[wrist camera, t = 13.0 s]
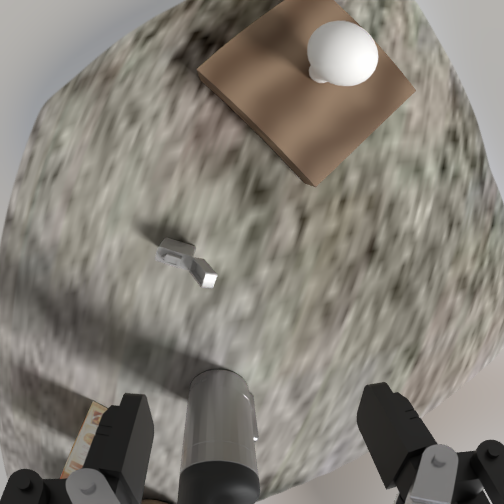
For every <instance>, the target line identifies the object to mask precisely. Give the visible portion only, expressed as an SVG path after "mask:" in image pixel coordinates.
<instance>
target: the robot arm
mask: <svg viewBox="0 0 504 504" xmlns="http://www.w3.org/2000/svg"><path fill="white" fill-rule="evenodd" d="M357 424H358V428H359V430H360V432H361V434H362V436H363V439H364V441H365V443H366V445H367V447H368V450H369V452H370V454H371V456H372V459H373V461H374V463H375V465H376V467H377V470H378V472H379V474H380V476H381V479H382V481H383V483H384V485H385V488H386V489H390V488H393V487H396V486H397V488H398V490H399V492H398V494H397V496H396V498H395V501H394V504H490V502H489V501H488V499H487V497H486V495H485V493H484V492H483V489H485V491H486V493H487V494H488V496H489V498H490V500H491V502H492V503H493V504H504V445H503V444H501V443H500V442H498V441H495V440H486V441H484V442H482V443H481V444H480V445H479V446H478V448H477V449H476V451H469V452H459V453H456V452H455V451H454V450H453V449H452V448H450V447H449V446H446V445H442V444H437V442H436V441H435V439H434V438H433V437H432V435H431V433H430V432H429V430H428V429H427V427H426V426H425V424H424V423H423V421H422V420H421V418H419V415H418V414H417V412H416V411H414V408H413V406H412V405H411V403H410V402H409V400H408V399H407V398H405V397H404V396H402V395H401V394H400V393H398V392H397V393H393V392H392V390H391V389H390V387H389V386H388V384H387V383H385V382H382V383H376V384H370V385H366V386H365V388H364V391H363V394H362V398H361V401H360V405H359V408H358V412H357ZM153 438H154V424H153V420H152V416H151V412H150V409H149V405H148V401H147V397H146V395H144V394H131V393H125V394H124V395H123V398H122V401H121V403H120V406H114V405H111V406H110V407H109V408H108V409H107V410H106V411H105V412H104V413H103V415H102V417H101V420H100V422H99V427H97V430H96V432H95V435H94V438H93V440H92V443H91V446H90V448H89V451H88V454H87V456H86V459H85V462H84V465H83V467H82V468H81V469H78V470H76V471H74V472H72V473H71V474H70V475H69V476H68V478H65V479H42V478H41V477H40V476H39V474H38V473H36V472H35V471H33V470H29V469H21V470H18V471H16V472H14V473H13V474H12V475H11V476H10V478H9V480H8V482H7V485H6V487H5V490H4V492H3V495H2V497H1V500H0V504H141V502H142V496H143V490H144V485H145V479H146V474H147V468H148V463H149V458H150V453H151V448H152V443H153ZM257 440H258V429H257V421H256V413H255V405H254V397H253V395H252V394H251V393H250V392H249V389H248V385H247V383H246V381H245V380H244V379H243V378H242V377H240V376H239V375H238V374H236V373H233V372H231V371H227V370H220V369H219V370H210V371H206V372H203V373H201V374H199V375H198V376H196V377H195V378H194V380H193V381H192V383H191V385H190V390H189V398H188V405H187V413H186V422H185V431H184V440H183V449H182V459H181V469H180V479H179V491H178V502H177V504H254V503H255V502H256V501H257V500H258V498H259V495H260V484H259V478H258V469H257V461H256V453H255V444H254V442H256V441H257Z"/></svg>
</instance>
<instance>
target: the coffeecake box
mask: <svg viewBox="0 0 504 504" xmlns="http://www.w3.org/2000/svg"><path fill="white" fill-rule="evenodd" d="M106 410H107V408H106V407H104V406H102V405H100V404H98V403H96V402H94V401H93V402H92V404H91V406H90V409H89V411H88V413H87V415H86V418H85V420H84V422H83V424H82V426H81V429H80V431H79V433H78V435H77V438H76V440H75V442H74V445H73V447H72V449H71V452H70V454H69V457H68V459H67V461H66V464H65V466H64V469H63V471H62V474H61V476H60V479H65V478H68V476H69V475H70V474H71V473H72V472H74V471H76V470H78V469H81V468H82V467H83V465H84V462H85V459H86V456H87V454H88V451H89V448H90V446H91V443H92V440H93V438H94V435H95V432H96V430H97V427H99V422H100V420H101V417H102V415H103V413H104V412H105V411H106Z"/></svg>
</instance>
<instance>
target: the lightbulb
mask: <svg viewBox="0 0 504 504" xmlns="http://www.w3.org/2000/svg"><path fill="white" fill-rule="evenodd" d="M307 55H308V59H309V62H310V64H311V66H310V67H309V75H310V77H311V78H312V79H313V80H314V81H315V82H318V83H325V82H329V83H332V84H335V85H339V86H354V85H358V84H360V83H362V82H364V81H366V80H367V79H368V78H369V77H370V76H371V75H372V74H373V72H374V71H375V69H376V66H377V63H378V50H377V46H376V44H375V42H374V40H373V38H372V37H371V36H370V34H369V33H368V32H367V31H365V30H364V29H363V28H362V27H360V26H358V25H356V24H354V23H351V22H347V21H333V22H328V23H326V24H323V25H322V26H320V27H319V28H317V29H316V30H315V31H314V33H313V34H312V35H311V37H310V39H309V42H308V47H307Z"/></svg>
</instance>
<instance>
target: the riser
mask: <svg viewBox="0 0 504 504" xmlns="http://www.w3.org/2000/svg"><path fill="white" fill-rule="evenodd" d="M333 21H347V22H351V23H354V24H356V25H358V26H360V25H359V24H358V23H357V22H356V21H355V20H354V19H353V18H352V17H351V16H350V15H349V14H348V13H347V12H346V11H345V10H343V9H342V8H341V7H340V6H339V5H338V4H337V3H336V2H335V1H334V0H284V1H283V2H281V3H280V4H278V5H277V6H275V7H274V8H272V9H271V10H270V11H268V12H267V13H265V14H264V15H263V16H261V17H260V18H258V19H257V20H256V21H254V22H253V23H252V24H250V25H249V26H248V27H246V28H245V29H244V30H243V31H241V32H240V33H239V34H237V35H236V36H235V37H234V38H232V39H231V40H230V41H229V42H228V43H226V44H225V45H224V46H223V47H221V48H220V49H219V50H218V51H217V52H216V53H214V54H213V55H212V56H211V57H210V58H209V59H207V60H206V61H205V62H204V63H203V64H202V65H201V66H200V67H198V68H197V72H198V75H199V78H200V80H201V81H202V82H203V83H204V84H205V85H206V86H207V87H209V88H210V89H211V90H212V91H213V92H214V93H215V94H216V95H217V96H218V97H219V98H220V99H222V100H223V101H224V102H225V103H226V104H227V105H228V106H229V107H230V108H231V109H232V110H233V111H234V112H235V113H236V114H237V115H238V116H240V117H241V118H242V119H243V120H244V121H245V122H246V123H247V124H248V125H249V126H250V127H251V128H252V129H253V130H254V131H255V132H256V133H257V134H258V135H259V136H260V137H261V138H262V139H263V140H264V141H265V142H266V143H267V144H268V145H269V146H270V147H271V148H272V149H273V150H274V151H275V152H276V153H277V154H278V155H279V156H280V157H281V158H282V160H283V161H284V162H285V163H286V164H287V165H288V166H289V167H290V168H291V169H292V170H293V171H294V172H295V173H296V174H297V175H298V176H299V177H300V179H301V180H302V181H303V182H304V183H305V184H308V185H311V186H314V187H316V186H317V185H318V184H319V183H321V182H322V181H323V180H324V179H325V178H326V177H327V176H328V175H329V174H330V173H331V172H332V171H333V170H334V169H335V168H336V167H337V166H338V165H339V164H340V163H341V162H342V161H343V160H344V159H345V158H346V157H347V156H349V155H350V154H351V153H352V152H353V151H354V150H355V149H356V148H357V147H358V146H359V145H360V144H361V143H362V142H363V141H364V140H365V139H366V138H367V137H368V136H369V135H370V134H371V133H372V132H373V131H374V130H376V129H377V128H378V127H379V126H380V125H381V124H382V123H383V122H384V121H385V120H386V119H387V118H388V117H389V116H390V115H391V114H392V113H393V112H394V111H395V110H396V109H397V108H398V107H399V106H400V105H401V104H403V103H404V102H405V101H406V100H407V99H408V98H409V97H410V96H411V95H412V94H413V93H414V92H415V91H416V90H415V89H414V87H413V86H412V85H411V83H410V82H409V81H408V80H407V78H406V77H405V76H404V75H403V73H402V72H401V71H400V70H399V68H398V67H397V66H396V65H395V64H394V62H393V61H392V60H391V59H390V58H389V57H388V55H387V54H386V53H385V52H384V51H383V50H382V49H381V47H380V46H379V45H378V44H377V43H376V42H375V41H374V42H375V44H376V46H377V50H378V63H377V66H376V69H375V71H374V72H373V74H372V75H371V76H370V77H369V78H368V79H367V80H366V81H364V82H362V83H360V84H358V85H354V86H339V85H335V84H332V83H329V82H325V83H318V82H315V81H314V80H313V79H312V78H311V77H310V75H309V67H310V66H311V64H310V62H309V59H308V55H307V47H308V42H309V39H310V37H311V35H312V34H313V33H314V31H315V30H316V29H317V28H319V27H320V26H322V25H323V24H326V23H328V22H333ZM360 27H361V26H360Z"/></svg>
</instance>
